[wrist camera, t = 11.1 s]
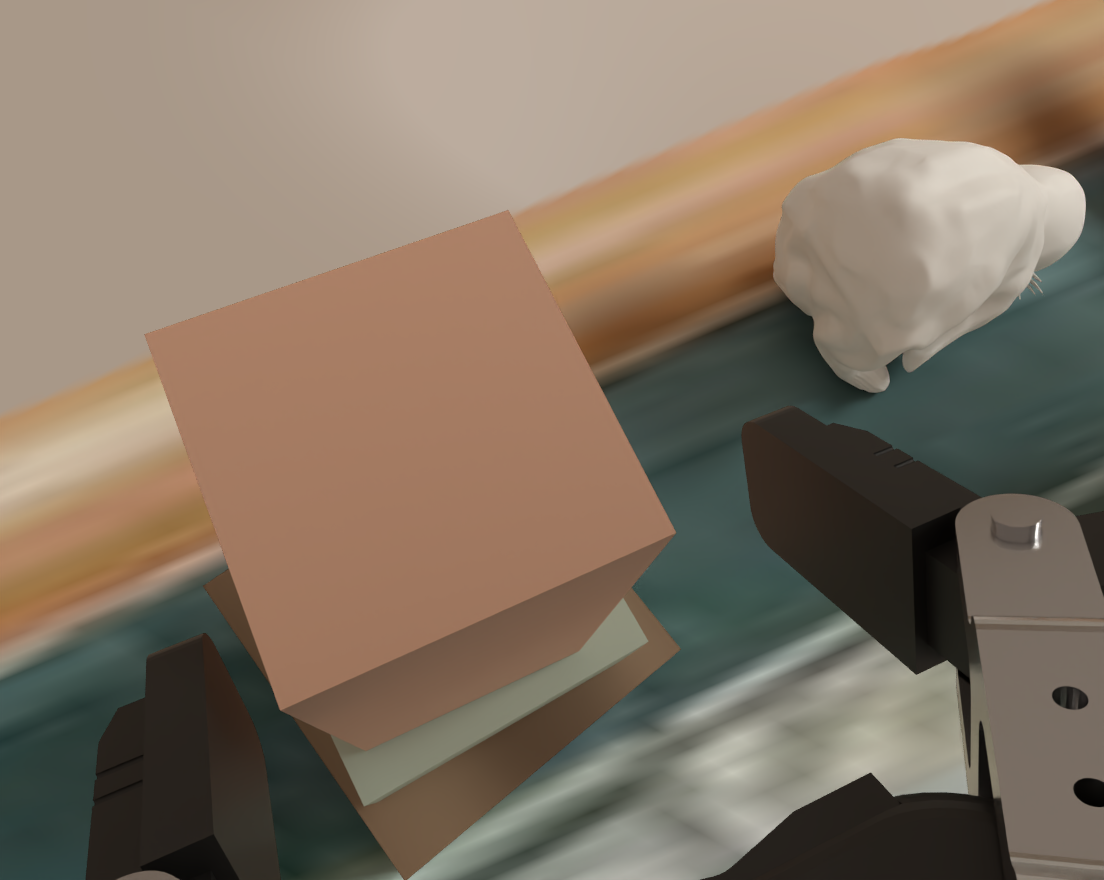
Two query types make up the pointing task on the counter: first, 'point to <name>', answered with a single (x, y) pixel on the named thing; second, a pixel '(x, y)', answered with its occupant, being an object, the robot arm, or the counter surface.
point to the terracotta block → (410, 478)
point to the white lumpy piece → (917, 248)
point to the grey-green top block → (486, 713)
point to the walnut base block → (487, 768)
